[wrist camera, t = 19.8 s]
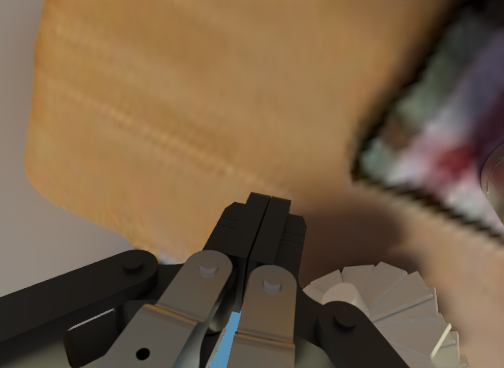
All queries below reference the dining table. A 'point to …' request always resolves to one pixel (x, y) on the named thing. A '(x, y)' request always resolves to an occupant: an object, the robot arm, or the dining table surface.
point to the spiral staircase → (396, 311)
